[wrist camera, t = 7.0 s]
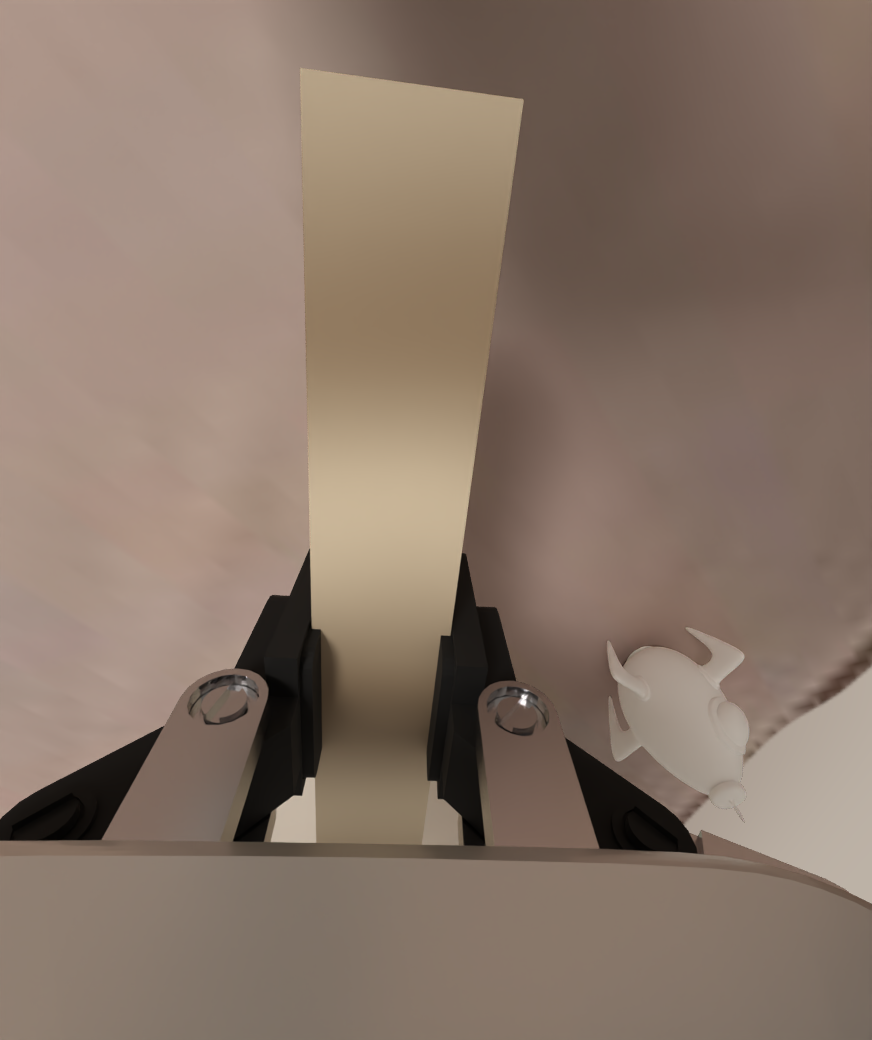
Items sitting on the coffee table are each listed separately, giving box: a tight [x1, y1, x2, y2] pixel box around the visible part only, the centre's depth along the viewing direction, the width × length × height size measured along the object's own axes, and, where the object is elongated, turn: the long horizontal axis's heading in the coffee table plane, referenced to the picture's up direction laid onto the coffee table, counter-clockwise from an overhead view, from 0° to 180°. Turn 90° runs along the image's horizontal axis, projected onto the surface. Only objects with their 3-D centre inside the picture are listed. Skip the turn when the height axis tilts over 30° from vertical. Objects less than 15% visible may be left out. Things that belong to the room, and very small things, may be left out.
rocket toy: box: [607, 627, 749, 822], centre depth 20 cm, size 5×5×8 cm
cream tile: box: [271, 778, 459, 845], centre depth 20 cm, size 2×8×10 cm, turn 85°
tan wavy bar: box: [300, 68, 524, 845], centre depth 11 cm, size 18×2×4 cm, turn 174°
